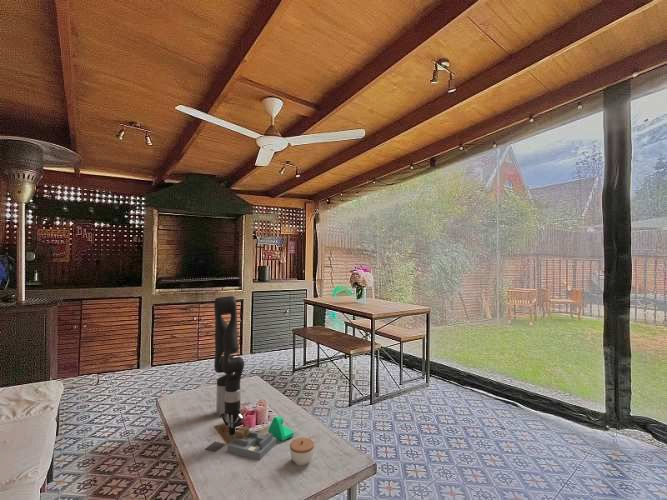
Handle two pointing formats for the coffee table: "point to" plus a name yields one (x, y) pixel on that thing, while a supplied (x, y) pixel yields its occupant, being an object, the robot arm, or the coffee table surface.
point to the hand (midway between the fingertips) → (232, 434)
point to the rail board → (252, 445)
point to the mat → (214, 446)
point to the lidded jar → (301, 450)
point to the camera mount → (280, 429)
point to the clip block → (242, 433)
